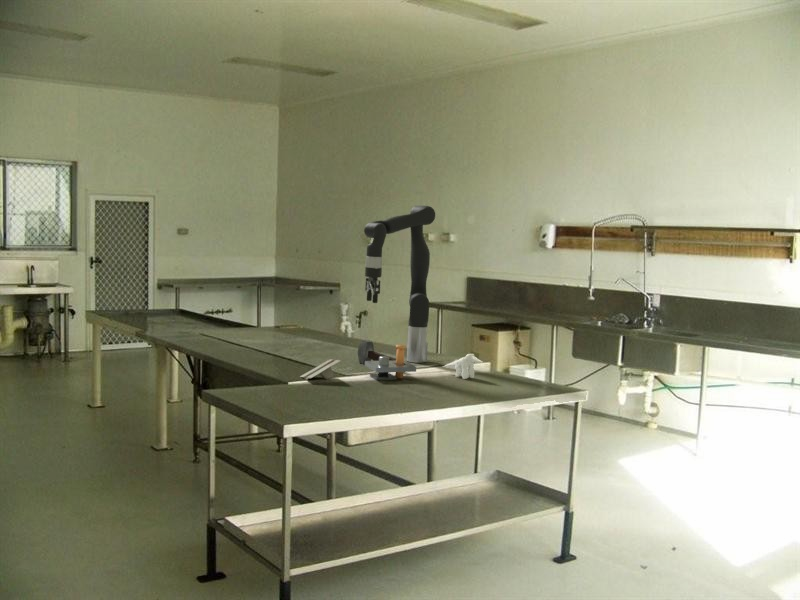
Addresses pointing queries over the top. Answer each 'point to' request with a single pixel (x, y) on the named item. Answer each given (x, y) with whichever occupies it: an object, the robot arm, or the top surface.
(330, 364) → the gray slanted slat stand
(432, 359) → the top surface
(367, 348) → the hammer
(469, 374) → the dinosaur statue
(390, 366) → the plate with round knob
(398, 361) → the pin
